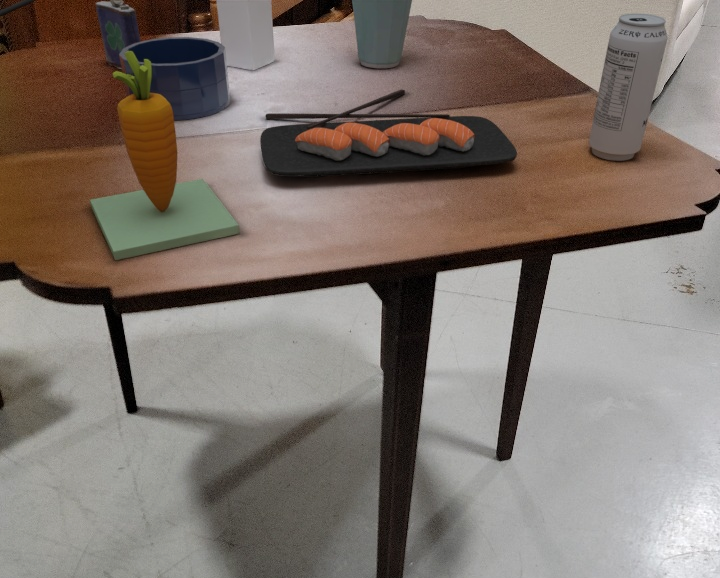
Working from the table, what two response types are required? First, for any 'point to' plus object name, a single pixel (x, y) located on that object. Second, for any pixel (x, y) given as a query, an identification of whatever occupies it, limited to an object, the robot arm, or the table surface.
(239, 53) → the milk
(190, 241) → the mat
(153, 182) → the carrot
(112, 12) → the flask
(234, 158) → the table surface
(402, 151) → the sushi plate
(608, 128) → the energy drink can
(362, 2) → the disposable coffee cup
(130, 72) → the pot
